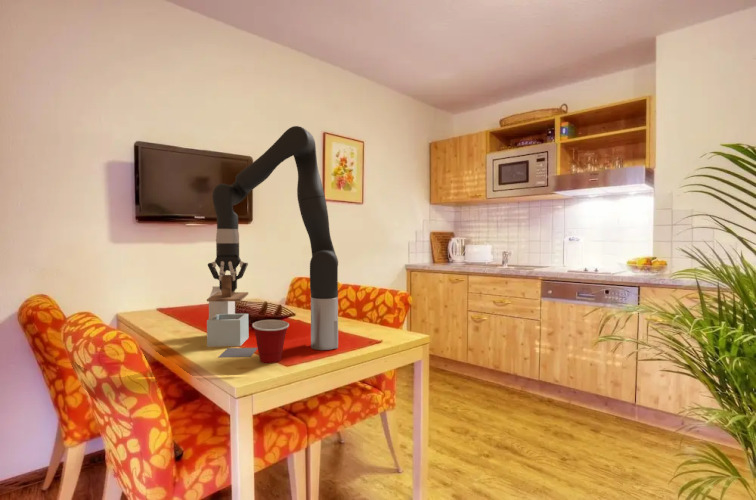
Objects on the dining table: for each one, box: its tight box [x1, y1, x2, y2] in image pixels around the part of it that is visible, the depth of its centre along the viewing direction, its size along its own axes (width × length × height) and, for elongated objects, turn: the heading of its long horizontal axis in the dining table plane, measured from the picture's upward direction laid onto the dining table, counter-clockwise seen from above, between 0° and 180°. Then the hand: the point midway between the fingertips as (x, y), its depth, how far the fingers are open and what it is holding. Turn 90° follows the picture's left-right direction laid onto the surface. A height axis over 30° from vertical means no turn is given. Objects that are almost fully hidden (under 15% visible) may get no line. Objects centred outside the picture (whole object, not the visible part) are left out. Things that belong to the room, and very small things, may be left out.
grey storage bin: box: [206, 313, 250, 348], centre depth 140 cm, size 11×11×10 cm
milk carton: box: [208, 285, 236, 319], centre depth 149 cm, size 7×7×19 cm
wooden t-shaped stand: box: [206, 274, 249, 302], centre depth 139 cm, size 11×11×8 cm
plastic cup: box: [251, 319, 290, 364], centre depth 119 cm, size 11×11×12 cm
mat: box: [217, 347, 258, 358], centre depth 127 cm, size 10×10×1 cm
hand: (228, 290), depth 139 cm, fingers closed on wooden t-shaped stand, 3 cm apart
